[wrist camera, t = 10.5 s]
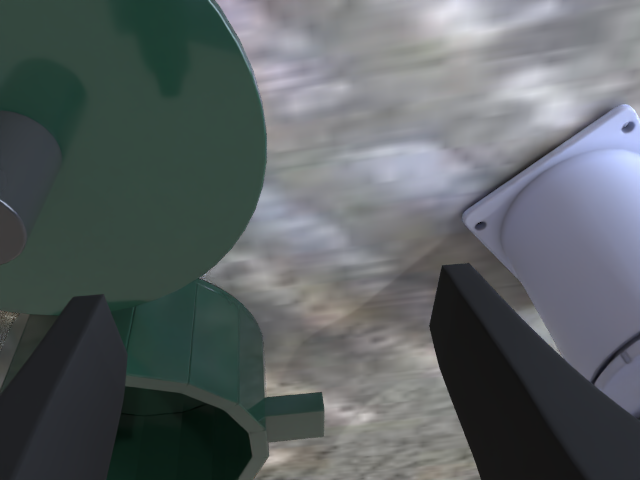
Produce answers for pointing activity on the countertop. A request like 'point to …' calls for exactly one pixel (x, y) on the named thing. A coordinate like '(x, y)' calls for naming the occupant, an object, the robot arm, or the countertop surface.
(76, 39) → the lid
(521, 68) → the countertop surface
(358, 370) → the countertop surface
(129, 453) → the pot
